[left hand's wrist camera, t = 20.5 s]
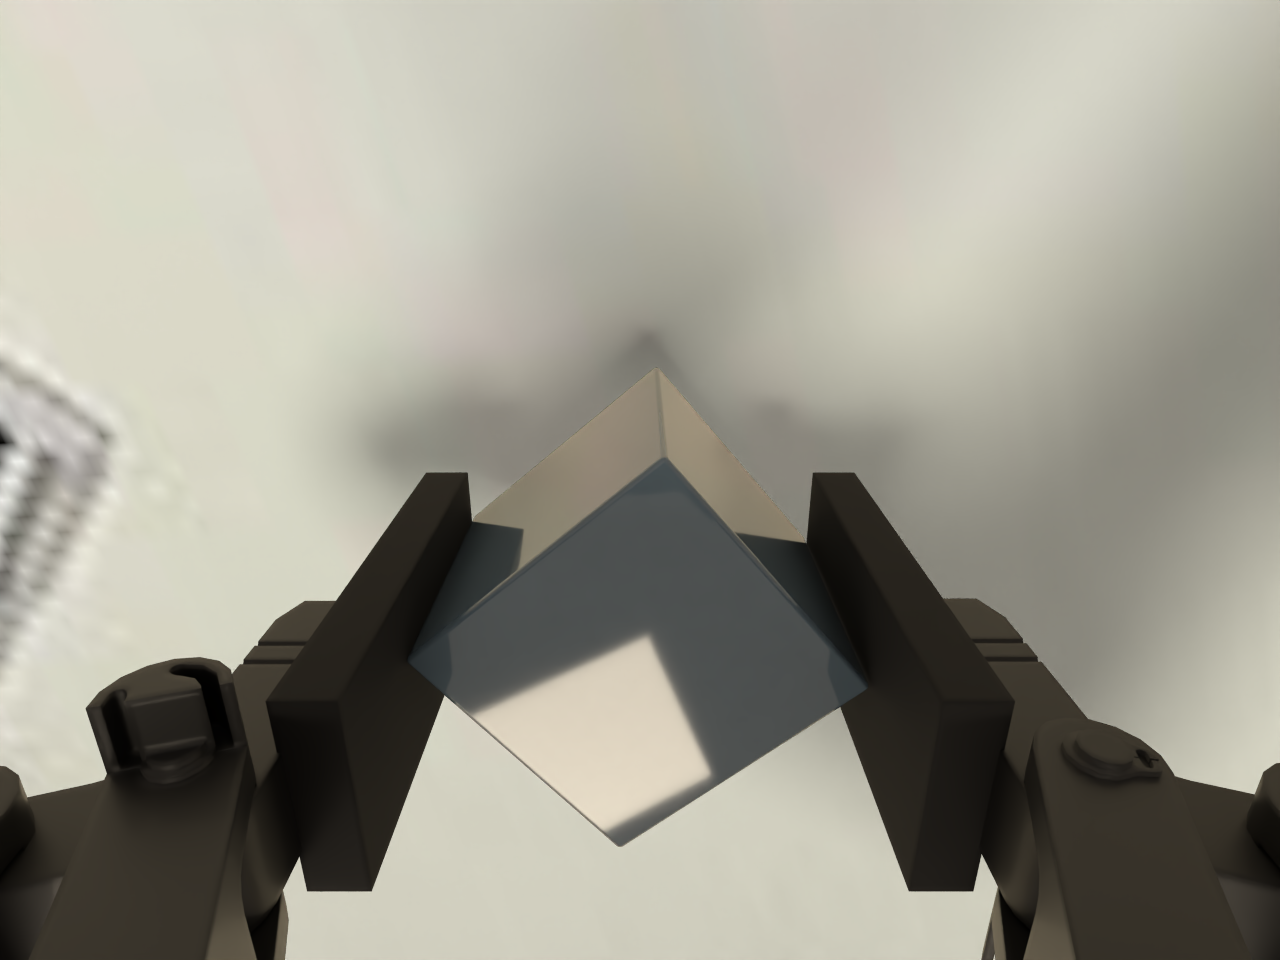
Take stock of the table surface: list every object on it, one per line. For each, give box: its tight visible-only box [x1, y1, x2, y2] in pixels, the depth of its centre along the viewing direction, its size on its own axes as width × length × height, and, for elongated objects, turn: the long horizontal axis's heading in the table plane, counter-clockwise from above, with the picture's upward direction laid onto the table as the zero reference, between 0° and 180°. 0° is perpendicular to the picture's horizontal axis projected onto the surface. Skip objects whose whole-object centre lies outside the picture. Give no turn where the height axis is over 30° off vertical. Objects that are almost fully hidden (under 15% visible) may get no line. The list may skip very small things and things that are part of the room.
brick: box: [407, 368, 869, 847], centre depth 13 cm, size 4×4×5 cm
